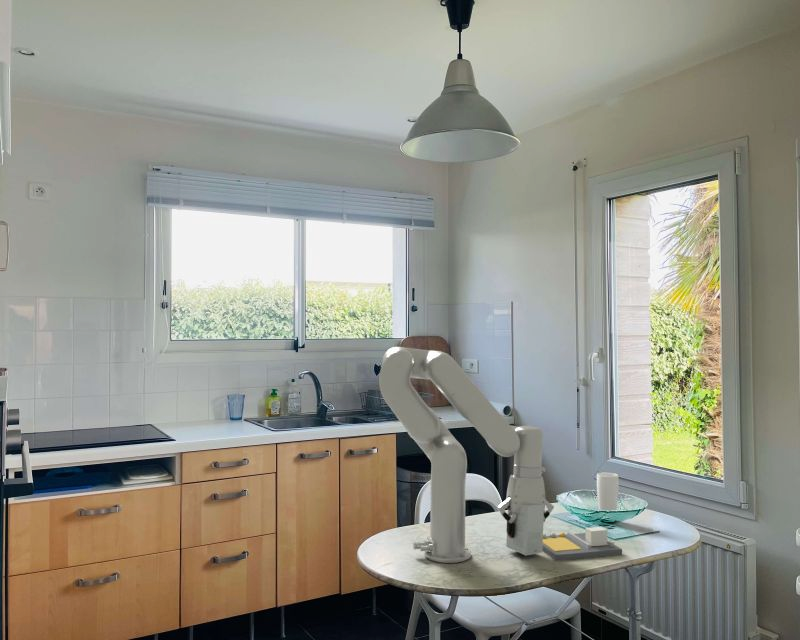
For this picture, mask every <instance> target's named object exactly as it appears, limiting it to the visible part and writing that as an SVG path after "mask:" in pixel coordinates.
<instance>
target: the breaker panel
mask: <svg viewBox="0 0 800 640" xmlns="http://www.w3.org/2000/svg"><path fill="white" fill-rule="evenodd" d="M542 552H543V553H545V554H547V556H549V557H551V559H553V560H554V559H555V560H554V561H557V560H558V561H567V559H568V560H575V559H576V560H578V558H579V559H588V558H598V557H609V556H611V557H612V556H622V555H623V549H622V547H620V546H618V545H617V544H615V542H613V541H612V540H609V538H607V545H602V546H591V545H590V544H589V543H587V542H586V532H580V533H573V532H571V531H568V532H567V534H566V532H561V531H560V532H559V533H558V534H557V535H556V533H555V532H550V533H549V535H546V534H545V533H543V548H542Z"/></svg>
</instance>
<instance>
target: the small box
mask: <svg viewBox="0 0 800 640" xmlns="http://www.w3.org/2000/svg"><path fill="white" fill-rule="evenodd" d="M508 508H511V507H510V505H509V506H508ZM508 512H509V510H508V509H507V513H508ZM543 520H544V505H522V506H521V511H520V514H517V516H516V518H515V520H514V521H513V523H515V537H514V538H511V537H510V536H509V535H508V534H507V533H506V540H505V541H506V544H505V545H506V548H508V549H510V550H512V551H515V552H517V553H520V554H521V555H524V556H525V557H526V556H532V555H536V554H541V553H543V551H542V548H543V534H544V522H543Z"/></svg>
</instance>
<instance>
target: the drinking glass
mask: <svg viewBox="0 0 800 640" xmlns="http://www.w3.org/2000/svg"><path fill="white" fill-rule="evenodd" d="M619 478H620V477H619V474H618V473H614V472H606V471H605V472H604V471H602V472H597V473H596V492H597V493H596V494H597V496H596V497H597V505H598V506H597V507H598V510H599V509H600V510H617V508H618V499H619V498H618V497H619V488H620V486H619V484H620V480H619ZM617 511H618V510H617Z"/></svg>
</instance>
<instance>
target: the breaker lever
mask: <svg viewBox="0 0 800 640" xmlns="http://www.w3.org/2000/svg"><path fill="white" fill-rule="evenodd" d="M585 533H586V542H587V543H589V544H590V545H591V546H602V545H607V539H608V529H607V528H605V527H603V526H593V527H585Z"/></svg>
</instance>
